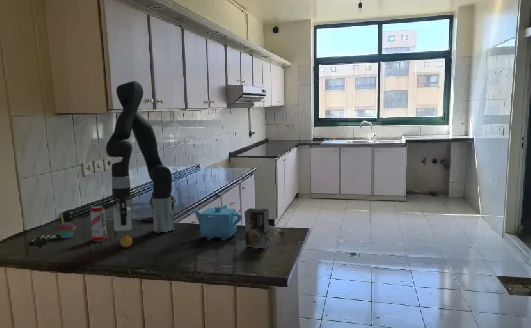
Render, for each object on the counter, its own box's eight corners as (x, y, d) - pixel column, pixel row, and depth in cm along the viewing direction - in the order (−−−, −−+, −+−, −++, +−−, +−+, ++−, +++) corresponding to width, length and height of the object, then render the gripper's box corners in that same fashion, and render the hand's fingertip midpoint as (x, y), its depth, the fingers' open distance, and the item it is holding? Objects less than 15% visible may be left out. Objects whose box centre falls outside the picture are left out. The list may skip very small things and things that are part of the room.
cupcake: (57, 240, 189) (55, 216, 188) (57, 236, 197) (55, 212, 195) (77, 237, 193) (75, 213, 192) (76, 233, 201) (74, 210, 199)
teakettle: (245, 238, 185) (244, 207, 183) (209, 246, 175) (207, 213, 173) (226, 229, 200) (225, 200, 199) (191, 236, 190) (190, 206, 189)
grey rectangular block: (130, 225, 180) (129, 206, 179) (131, 229, 174) (130, 209, 173) (114, 227, 178) (113, 208, 177) (115, 231, 171) (114, 211, 170)
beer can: (101, 242, 185) (99, 208, 183) (89, 241, 186) (86, 208, 184) (109, 238, 191) (107, 205, 189) (97, 237, 192) (95, 205, 190)
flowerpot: (144, 218, 228) (142, 184, 226) (165, 212, 240) (164, 180, 238) (160, 221, 219) (158, 186, 217) (182, 215, 231) (180, 182, 229)
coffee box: (270, 244, 174) (269, 208, 172) (265, 249, 168) (264, 212, 166) (250, 243, 177) (249, 207, 175) (245, 247, 171) (244, 211, 169)
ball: (131, 234, 179) (119, 235, 177) (132, 236, 175) (120, 238, 173) (131, 244, 180) (119, 246, 178) (133, 247, 175) (121, 249, 173)
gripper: (131, 188, 169) (133, 226, 171) (128, 183, 182) (130, 218, 184) (112, 189, 166) (115, 228, 168) (110, 184, 179) (112, 220, 181)
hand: (123, 223), depth 176 cm, fingers closed on grey rectangular block, 7 cm apart
